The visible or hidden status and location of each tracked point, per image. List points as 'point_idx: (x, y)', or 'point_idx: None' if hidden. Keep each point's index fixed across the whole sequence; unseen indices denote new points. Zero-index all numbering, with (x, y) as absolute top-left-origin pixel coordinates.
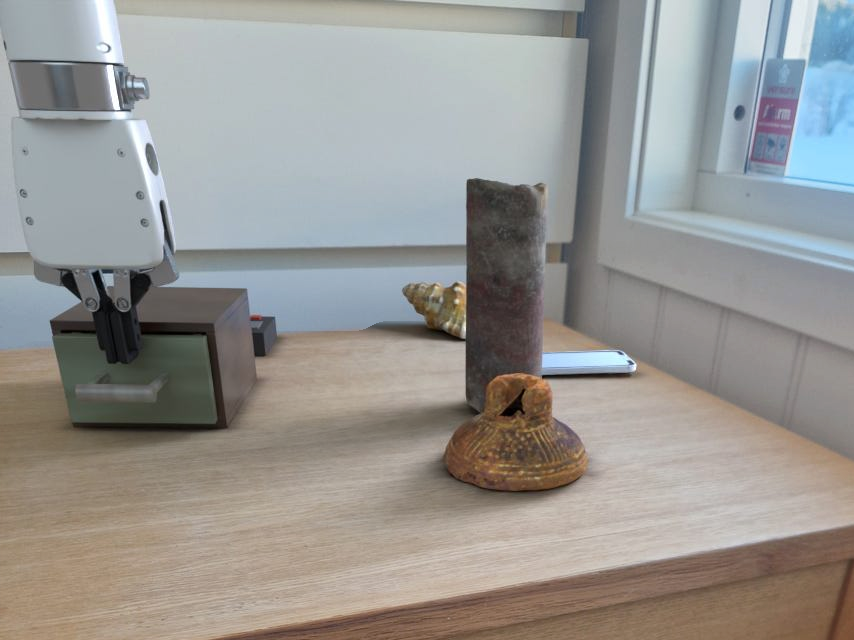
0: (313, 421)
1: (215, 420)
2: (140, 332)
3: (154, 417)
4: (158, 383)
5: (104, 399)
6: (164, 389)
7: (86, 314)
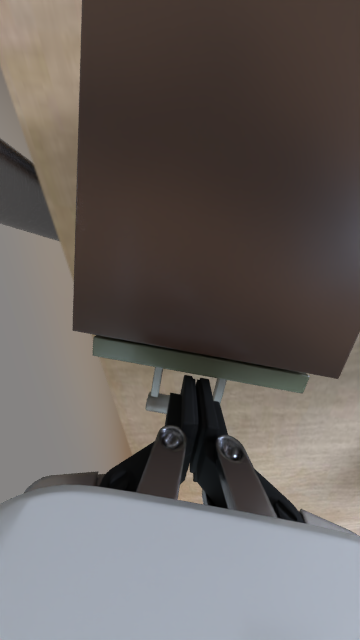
0: None
1: None
2: (221, 412)
3: None
4: (222, 394)
5: None
6: None
7: (121, 288)
